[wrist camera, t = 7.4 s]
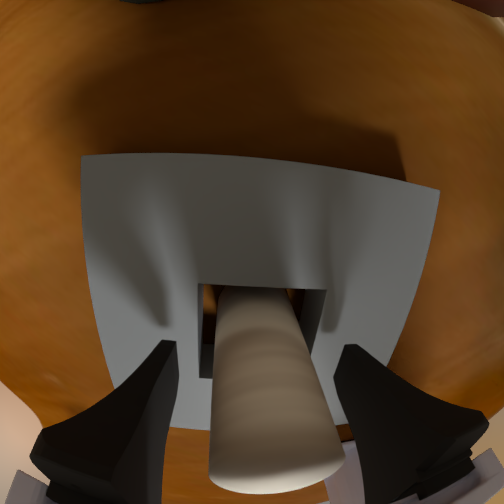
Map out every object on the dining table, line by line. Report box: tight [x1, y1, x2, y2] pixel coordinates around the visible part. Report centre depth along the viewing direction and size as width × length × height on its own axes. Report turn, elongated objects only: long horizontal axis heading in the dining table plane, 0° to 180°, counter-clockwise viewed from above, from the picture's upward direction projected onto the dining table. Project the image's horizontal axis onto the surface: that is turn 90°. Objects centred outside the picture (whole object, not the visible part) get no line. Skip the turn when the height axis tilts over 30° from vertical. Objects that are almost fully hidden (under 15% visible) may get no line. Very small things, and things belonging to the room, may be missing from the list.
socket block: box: [81, 153, 440, 430], centre depth 14 cm, size 16×16×3 cm
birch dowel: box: [209, 285, 346, 494], centre depth 11 cm, size 4×4×10 cm
